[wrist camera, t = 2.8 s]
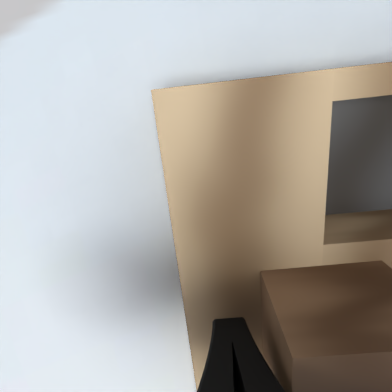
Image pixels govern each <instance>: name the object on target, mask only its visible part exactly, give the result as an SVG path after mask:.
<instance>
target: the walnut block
mask: <svg viewBox="0 0 392 392" xmlns="http://www.w3.org/2000/svg"><path fill="white" fill-rule="evenodd" d="M260 279H261V309H262V339H263V357H264V359H265V361H266V362H267V364H268V366H269V367H270V369H271V370H272V372H273V374H274V375H275V377H276V378H277V380H278V381H279V383H280V384H281V386H282V387H283V389H284V390H285V392H392V269H391V268H390V267H389V266H388V265H387V264H385V263H384V262H383V261H382V260H380V261H368V262H357V263H345V264H334V265H322V266H311V267H299V268H288V269H276V270H265V271H260Z"/></svg>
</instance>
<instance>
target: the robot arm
mask: <svg viewBox="0 0 392 392" xmlns="http://www.w3.org/2000/svg"><path fill="white" fill-rule="evenodd" d="M197 392H285V390H284V389H283V387H282V386H281V384H280V383H279V381H278V380H277V378H276V377H275V375H274V374H273V372H272V370H271V369H270V367H269V366H268V364H267V362H266V361H265V359H264V357H263V355H262V354H261V352H260V350H259V348H258V347H257V345H256V343H255V341H254V339H253V337H252V335H251V333H250V331H249V328H248V326H247V323H246V321H245V319H244V318H243V317H236V318H223V319H215V320H213V322H212V335H211V341H210V346H209V351H208V355H207V359H206V363H205V367H204V371H203V374H202V377H201V380H200V384H199V387H198V390H197Z"/></svg>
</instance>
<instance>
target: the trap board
mask: <svg viewBox="0 0 392 392" xmlns="http://www.w3.org/2000/svg"><path fill="white" fill-rule="evenodd" d="M151 92H152V99H153V106H154V112H155V119H156V125H157V132H158V139H159V145H160V152H161V158H162V165H163V171H164V178H165V185H166V191H167V198H168V204H169V211H170V218H171V224H172V231H173V237H174V244H175V251H176V257H177V264H178V270H179V277H180V283H181V290H182V297H183V303H184V310H185V316H186V323H187V330H188V336H189V343H190V349H191V356H192V362H193V369H194V376H195V382H196V389H197V390H198V387H199V384H200V380H201V377H202V374H203V371H204V367H205V363H206V359H207V355H208V351H209V346H210V341H211V335H212V322H213V320H215V319H223V318H236V317H243V318H244V319H245V321H246V323H247V326H248V328H249V331H250V333H251V335H252V337H253V339H254V341H255V343H256V345H257V347H258V348H259V350H260V352H261V354H262V355H263V339H262V309H261V279H260V271H265V270H276V269H288V268H299V267H311V266H322V265H334V264H345V263H357V262H368V261H380V260H382V261H383V262H384V263H385V264H387V265H388V266H389V267H390V268H391V269H392V62H386V63H378V64H369V65H361V66H352V67H343V68H335V69H326V70H318V71H309V72H300V73H292V74H283V75H275V76H266V77H257V78H249V79H240V80H232V81H223V82H214V83H206V84H197V85H189V86H180V87H171V88H163V89H154V90H151Z"/></svg>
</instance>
